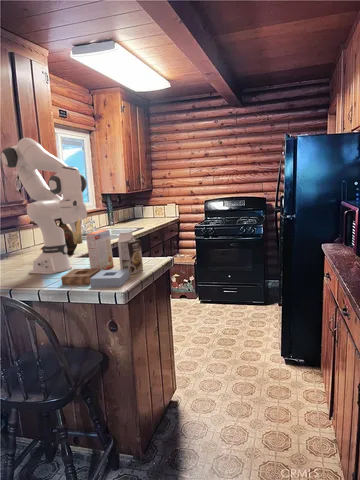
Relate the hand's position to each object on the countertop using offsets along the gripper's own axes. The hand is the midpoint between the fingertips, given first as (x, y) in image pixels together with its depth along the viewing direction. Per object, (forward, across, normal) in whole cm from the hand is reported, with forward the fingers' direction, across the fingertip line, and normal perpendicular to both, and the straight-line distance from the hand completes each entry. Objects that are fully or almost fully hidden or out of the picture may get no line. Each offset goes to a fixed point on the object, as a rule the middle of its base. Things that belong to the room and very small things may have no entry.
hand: (76, 230), depth 166 cm
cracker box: (+25, -19, +3) cm, 31 cm away
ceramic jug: (+26, -60, -38) cm, 76 cm away
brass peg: (+6, 0, 0) cm, 6 cm away
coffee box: (+24, -12, +22) cm, 35 cm away
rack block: (+24, 0, 0) cm, 25 cm away
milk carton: (+25, -22, +17) cm, 37 cm away
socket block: (+24, +4, +16) cm, 29 cm away
